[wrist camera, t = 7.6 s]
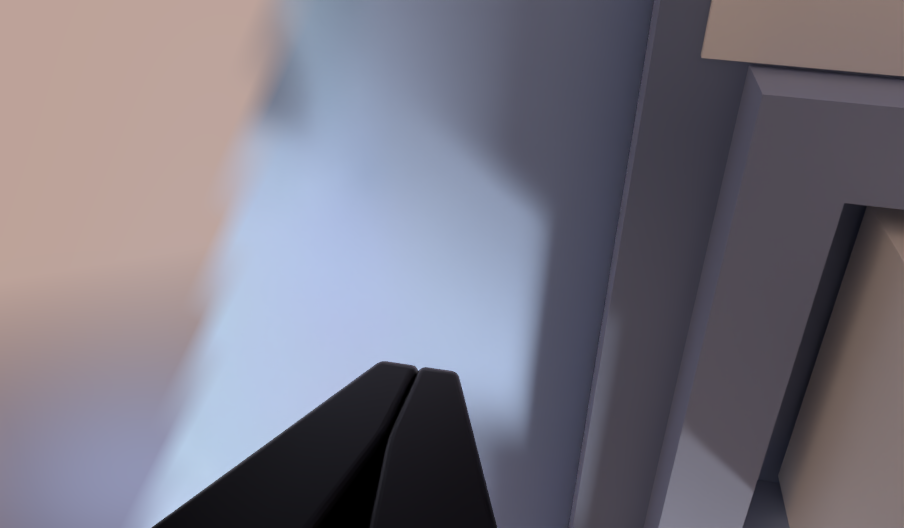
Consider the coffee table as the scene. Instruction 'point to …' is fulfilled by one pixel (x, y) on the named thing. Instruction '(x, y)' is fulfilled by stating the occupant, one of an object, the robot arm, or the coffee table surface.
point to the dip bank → (734, 250)
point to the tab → (855, 396)
